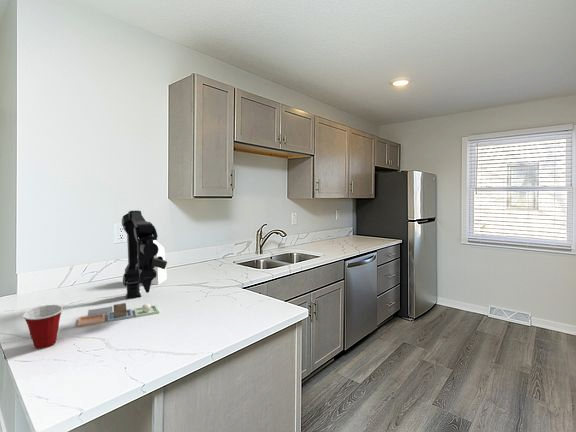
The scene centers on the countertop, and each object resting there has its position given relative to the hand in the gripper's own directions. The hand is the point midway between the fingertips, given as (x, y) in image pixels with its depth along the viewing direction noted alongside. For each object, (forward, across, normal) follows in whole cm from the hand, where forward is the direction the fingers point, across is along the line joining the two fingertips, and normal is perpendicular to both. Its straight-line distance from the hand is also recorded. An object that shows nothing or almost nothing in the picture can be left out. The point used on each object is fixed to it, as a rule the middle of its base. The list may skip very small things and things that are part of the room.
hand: (146, 289), depth 137 cm
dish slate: (+10, 0, +10) cm, 14 cm away
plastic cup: (+10, -15, +33) cm, 38 cm away
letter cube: (+10, 0, +10) cm, 14 cm away
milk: (+10, +51, -9) cm, 53 cm away
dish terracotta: (+10, 0, +20) cm, 22 cm away
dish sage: (+10, 0, 0) cm, 10 cm away
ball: (+10, 0, 0) cm, 10 cm away
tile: (+10, +10, +17) cm, 22 cm away
